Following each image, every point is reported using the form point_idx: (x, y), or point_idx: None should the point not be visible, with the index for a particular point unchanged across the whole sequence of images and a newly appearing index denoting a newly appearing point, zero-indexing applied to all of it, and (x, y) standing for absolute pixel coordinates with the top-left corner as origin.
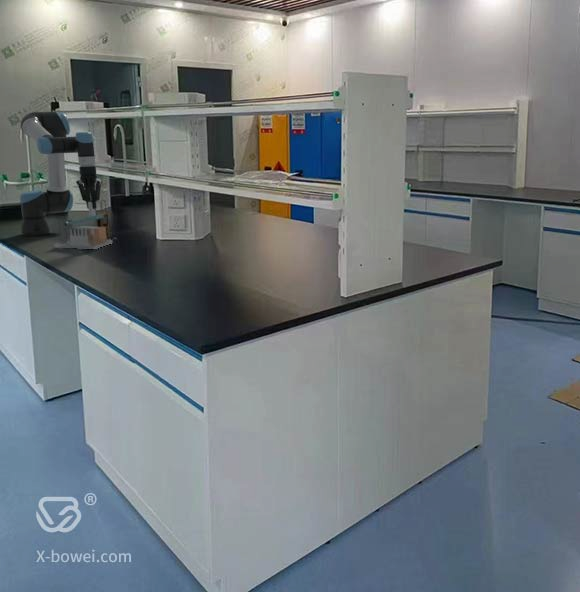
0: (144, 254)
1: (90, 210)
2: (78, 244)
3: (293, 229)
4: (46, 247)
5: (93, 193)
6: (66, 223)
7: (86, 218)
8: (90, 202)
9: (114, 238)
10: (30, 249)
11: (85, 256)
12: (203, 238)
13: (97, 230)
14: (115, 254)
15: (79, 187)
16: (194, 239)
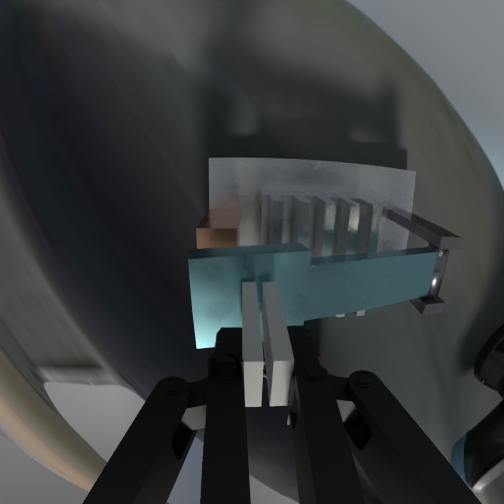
0: (15, 156)
1: (265, 310)
2: (309, 175)
3: (13, 432)
4: (438, 179)
5: (206, 473)
6: (428, 251)
7: (288, 250)
8: (255, 360)
9: (264, 373)
10: (464, 139)
11: (178, 42)
12: (42, 386)
13: (207, 225)
14: (86, 114)
15: (463, 498)
16: (47, 377)
